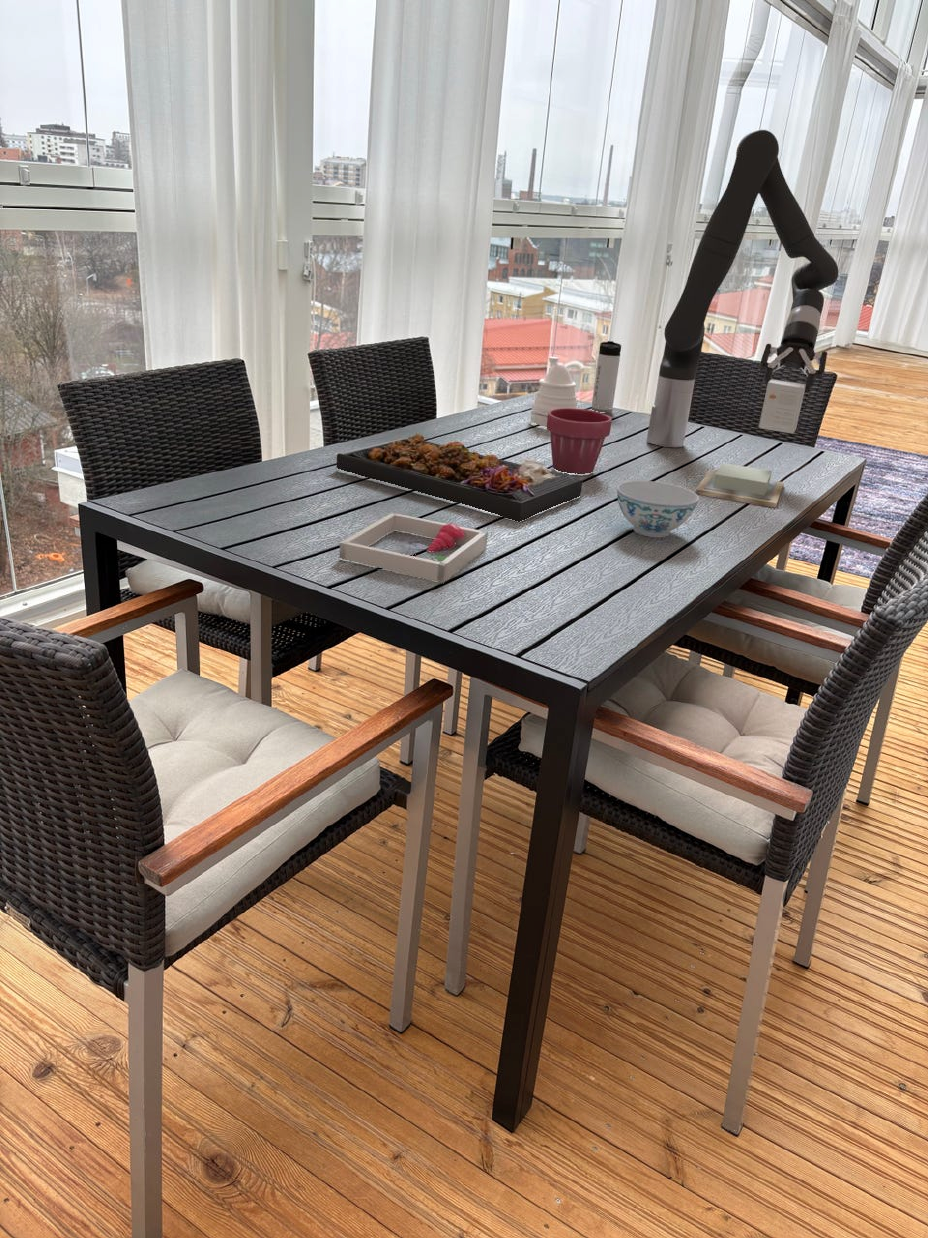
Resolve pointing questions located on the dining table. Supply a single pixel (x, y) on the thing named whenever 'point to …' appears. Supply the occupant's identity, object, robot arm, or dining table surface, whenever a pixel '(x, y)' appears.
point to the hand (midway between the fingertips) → (787, 387)
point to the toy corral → (410, 565)
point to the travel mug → (606, 376)
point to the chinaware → (655, 506)
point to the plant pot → (577, 438)
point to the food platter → (463, 476)
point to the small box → (782, 406)
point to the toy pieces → (444, 539)
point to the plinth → (742, 479)
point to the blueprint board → (764, 500)
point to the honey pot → (553, 393)
